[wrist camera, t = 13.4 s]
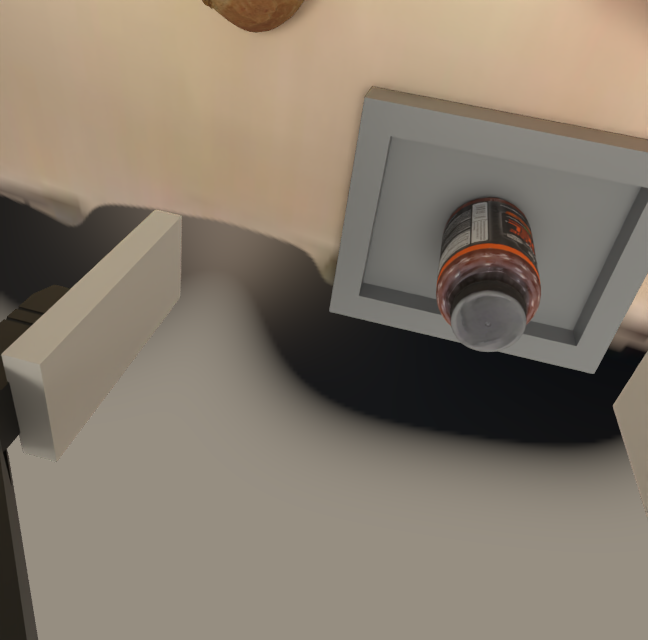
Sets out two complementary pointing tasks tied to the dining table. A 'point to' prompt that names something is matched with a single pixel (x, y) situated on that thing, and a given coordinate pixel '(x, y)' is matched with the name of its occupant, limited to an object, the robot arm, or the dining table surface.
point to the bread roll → (255, 12)
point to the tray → (506, 184)
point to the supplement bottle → (488, 274)
